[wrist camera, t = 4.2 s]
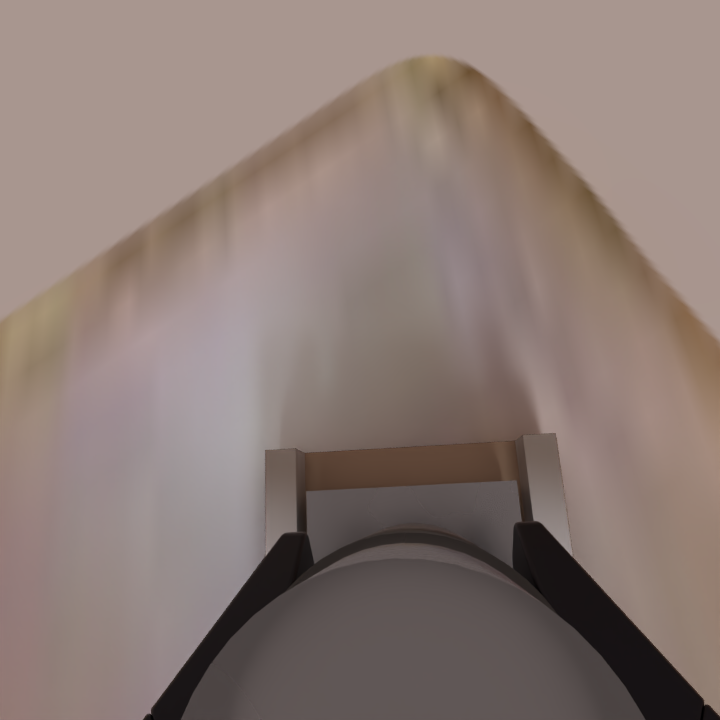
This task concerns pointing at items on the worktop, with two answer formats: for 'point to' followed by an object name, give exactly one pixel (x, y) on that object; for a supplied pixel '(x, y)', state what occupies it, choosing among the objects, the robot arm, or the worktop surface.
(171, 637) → the worktop surface
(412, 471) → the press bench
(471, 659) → the handle
